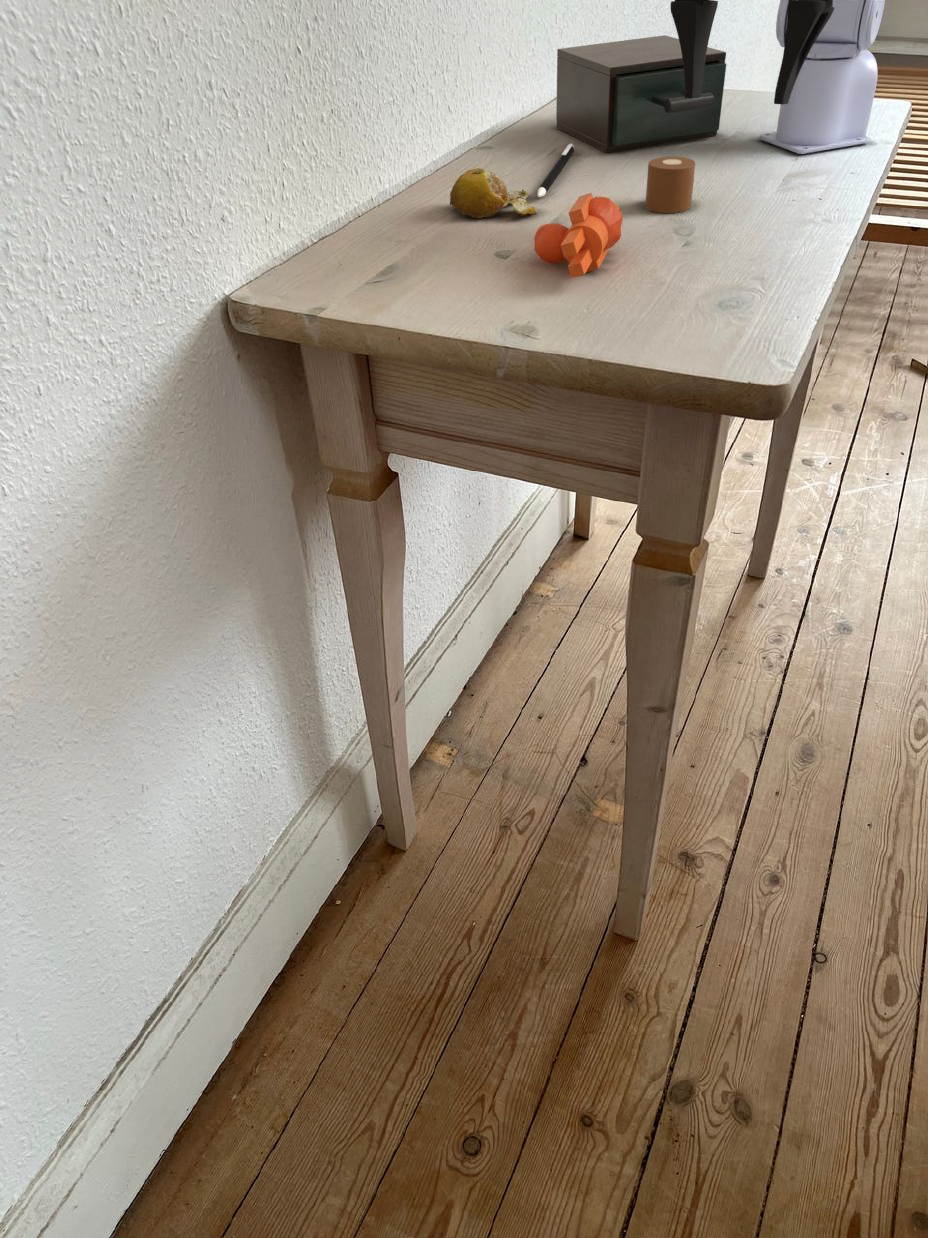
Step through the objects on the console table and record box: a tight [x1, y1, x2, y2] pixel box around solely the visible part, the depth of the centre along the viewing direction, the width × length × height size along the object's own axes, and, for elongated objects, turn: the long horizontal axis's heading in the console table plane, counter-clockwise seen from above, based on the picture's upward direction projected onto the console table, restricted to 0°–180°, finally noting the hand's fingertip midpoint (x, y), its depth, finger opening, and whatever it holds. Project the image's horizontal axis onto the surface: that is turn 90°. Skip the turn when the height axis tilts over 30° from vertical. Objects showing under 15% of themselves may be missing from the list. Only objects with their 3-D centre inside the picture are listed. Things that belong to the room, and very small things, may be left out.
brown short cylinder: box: [644, 155, 696, 214], centre depth 91 cm, size 4×4×4 cm
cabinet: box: [555, 35, 727, 154], centre depth 111 cm, size 14×15×9 cm
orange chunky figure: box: [533, 192, 624, 279], centre depth 80 cm, size 5×8×12 cm
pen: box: [537, 143, 576, 198], centre depth 101 cm, size 1×19×1 cm, turn 165°
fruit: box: [449, 167, 538, 220], centre depth 92 cm, size 8×8×4 cm
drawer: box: [612, 62, 727, 146], centre depth 108 cm, size 17×13×7 cm
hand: (735, 100), depth 79 cm, fingers open, 7 cm apart
